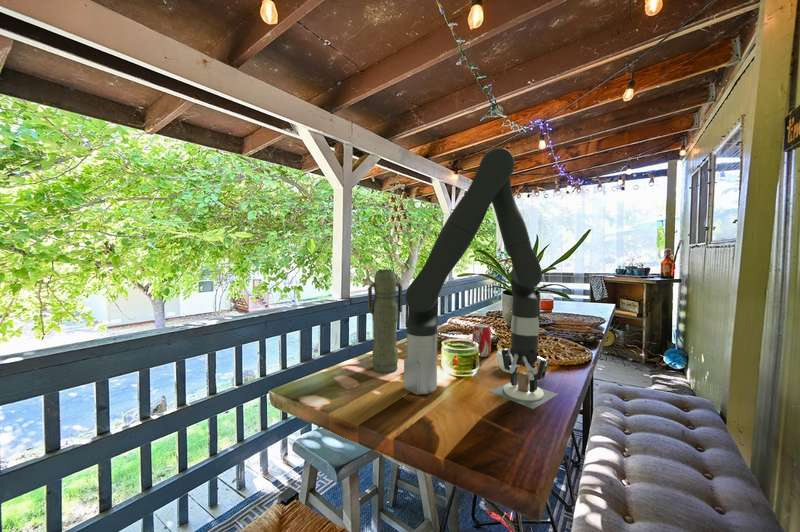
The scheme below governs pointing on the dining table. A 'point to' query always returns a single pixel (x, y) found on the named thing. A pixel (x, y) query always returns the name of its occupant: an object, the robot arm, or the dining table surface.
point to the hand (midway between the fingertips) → (523, 388)
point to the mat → (530, 404)
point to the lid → (523, 389)
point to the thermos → (385, 320)
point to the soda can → (482, 338)
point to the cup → (500, 360)
